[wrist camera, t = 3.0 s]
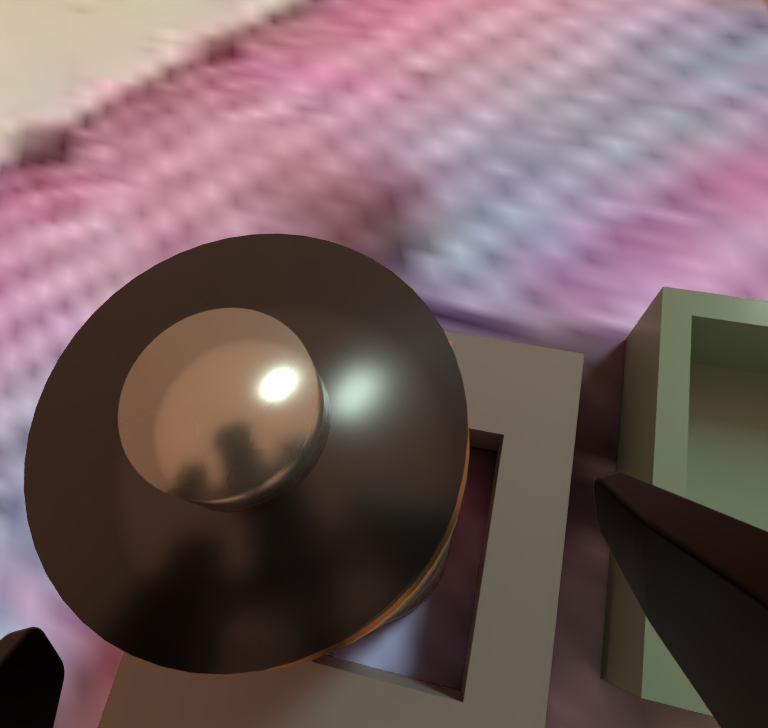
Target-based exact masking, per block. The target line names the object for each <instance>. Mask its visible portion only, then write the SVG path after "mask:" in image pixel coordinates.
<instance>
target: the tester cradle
mask: <svg viewBox="0 0 768 728" xmlns="http://www.w3.org/2000/svg"><path fill="white" fill-rule="evenodd" d="M444 332H445V335H446V337H447V339H448V341H449V343H450V345H451V347H452V349H453V351H454V354H455V357H456V360H457V363H458V366H459V369H460V372H461V376H462V379H463V385H464V391H465V396H466V402H467V415H468V423H469V446H473V447H478V448H483V449H488V450H493V451H498V452H497V459H496V465H495V472H494V478H493V485H492V491H491V497H490V504H489V510H488V517H487V523H486V530H485V536H484V543H483V549H482V556H481V562H480V569H479V575H478V581H477V588H476V594H475V601H474V607H473V614H472V620H471V627H470V633H469V640H468V646H467V653H466V659H465V665H464V672H463V678H462V685H461V691H458V690H454V689H451V688H447V687H443V686H440V685H436V684H432V683H428V682H425V681H421V680H417V679H413V678H410V677H406V676H402V675H398V674H395V673H391V672H387V671H383V670H380V669H376V668H372V667H368V666H365V665H361V664H357V663H353V662H350V661H346V660H342V659H339V658H335V657H331V656H327V655H323V656H321V657H318V658H316V659H314V660H311V661H308V662H304V663H300V664H296V665H292V666H289V667H285V668H281V669H273V670H264V671H255V672H245V673H236V674H227V675H226V674H202V673H190V672H185V671H180V670H175V669H170V668H165V667H161V666H158V665H156V664H153V663H150V662H148V661H145V660H142V659H140V658H137V657H134V656H132V655H130V654H128V653H127V652H124V655H123V658H122V661H121V664H120V666H119V669H118V672H117V675H116V678H115V681H114V683H113V686H112V689H111V692H110V695H109V698H108V701H107V703H106V706H105V709H104V712H103V715H102V718H101V720H100V723H99V726H98V728H545V722H546V712H547V702H548V693H549V683H550V674H551V664H552V655H553V645H554V636H555V626H556V617H557V607H558V598H559V588H560V579H561V569H562V560H563V550H564V541H565V531H566V522H567V512H568V503H569V493H570V484H571V474H572V465H573V455H574V445H575V436H576V426H577V417H578V407H579V398H580V388H581V379H582V369H583V360H584V354H582V353H576V352H570V351H563V350H557V349H551V348H545V347H539V346H533V345H527V344H520V343H514V342H508V341H502V340H496V339H490V338H484V337H477V336H471V335H465V334H459V333H453V332H447V331H444Z"/></svg>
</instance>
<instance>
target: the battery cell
mask: <svg viewBox="0 0 768 728" xmlns="http://www.w3.org/2000/svg"><path fill="white" fill-rule="evenodd" d="M469 453H470V449H469V423H468V415H467V402H466V396H465V391H464V385H463V379H462V376H461V372H460V369H459V366H458V363H457V360H456V357H455V354H454V351H453V349H452V347H451V345H450V343H449V341H448V339H447V337H446V335H445V332H444V330H443V328H442V327H441V325H440V324H439V322H438V321H437V319H436V318H435V316H434V315H433V313H432V312H431V310H430V309H429V307H428V306H427V305H426V304H425V303H424V302H423V301H422V300H421V298H420V297H419V296H418V295H417V294H416V293H415V292H414V291H413V289H412V288H411V287H409V286H408V285H407V284H406V283H405V282H404V281H402V280H401V279H400V278H399V277H398V276H397V275H395V274H394V273H393V272H392V271H390V270H389V269H387V268H385V267H384V266H382V265H381V264H379V263H378V262H376V261H375V260H373V259H371V258H369V257H367V256H365V255H363V254H361V253H359V252H357V251H355V250H353V249H350V248H348V247H345V246H342V245H339V244H336V243H333V242H330V241H326V240H321V239H316V238H311V237H306V236H299V235H287V234H254V235H247V236H240V237H233V238H227V239H223V240H219V241H215V242H211V243H207V244H203V245H201V246H198V247H195V248H192V249H190V250H187V251H184V252H182V253H179V254H177V255H175V256H173V257H171V258H169V259H167V260H165V261H163V262H161V263H159V264H157V265H155V266H153V267H152V268H150V269H149V270H147V271H145V272H144V273H142V274H141V275H139V276H137V277H136V278H134V279H133V280H131V281H130V282H129V283H128V284H126V285H125V286H124V287H122V288H121V289H120V290H119V291H117V292H116V293H115V294H113V295H112V296H111V297H110V298H109V299H108V300H107V301H106V302H105V303H104V304H103V305H102V306H101V307H100V308H99V309H97V310H96V311H95V312H94V313H93V314H92V316H91V317H90V318H89V319H88V320H87V321H86V323H85V324H84V325H83V326H82V327H81V328H80V330H79V331H78V332H77V333H76V334H75V336H74V337H73V339H72V340H71V342H70V343H69V344H68V346H67V347H66V349H65V350H64V352H63V353H62V355H61V356H60V358H59V359H58V361H57V363H56V365H55V367H54V369H53V371H52V372H51V374H50V376H49V378H48V380H47V382H46V384H45V387H44V389H43V392H42V394H41V397H40V399H39V402H38V404H37V407H36V410H35V413H34V417H33V421H32V424H31V428H30V432H29V436H28V443H27V450H26V457H25V468H24V495H25V503H26V511H27V520H28V523H29V527H30V531H31V535H32V539H33V542H34V546H35V549H36V551H37V554H38V556H39V558H40V560H41V563H42V565H43V567H44V570H45V572H46V574H47V576H48V577H49V579H50V581H51V582H52V584H53V585H54V587H55V588H56V590H57V592H58V593H59V595H60V596H61V598H62V599H63V600H64V602H65V603H66V604H67V605H68V606H69V607H70V608H71V610H72V611H73V612H74V613H75V614H76V615H77V616H78V617H79V619H80V620H81V621H82V622H83V623H85V624H86V625H87V626H88V627H90V628H91V629H92V630H93V631H94V632H96V633H97V634H98V635H99V636H101V637H102V638H103V639H104V640H106V641H107V642H109V643H111V644H113V645H114V646H116V647H118V648H120V649H121V650H123V651H125V652H127V653H128V654H130V655H132V656H134V657H137V658H140V659H142V660H145V661H148V662H150V663H153V664H156V665H158V666H161V667H165V668H170V669H175V670H180V671H185V672H190V673H202V674H226V675H227V674H236V673H245V672H255V671H264V670H273V669H281V668H285V667H289V666H292V665H296V664H300V663H304V662H308V661H311V660H314V659H316V658H318V657H321V656H323V655H326V654H328V653H330V652H333V651H335V650H338V649H340V648H342V647H344V646H346V645H348V644H350V643H353V642H355V641H357V640H358V639H360V638H362V637H363V636H365V635H367V634H368V633H370V632H372V631H373V630H375V629H377V628H378V627H380V626H381V625H384V624H386V623H389V622H391V621H393V620H396V619H398V618H400V617H403V616H405V615H406V614H408V613H410V612H411V611H413V610H414V609H415V608H417V607H418V606H419V605H420V604H422V603H423V601H424V600H425V599H426V598H427V597H428V596H429V595H430V594H431V592H432V591H433V590H434V588H435V587H436V585H437V583H438V581H439V579H440V578H441V575H442V573H443V570H444V568H445V564H446V560H447V556H448V551H449V546H450V541H451V536H452V533H453V530H454V528H455V525H456V523H457V519H458V515H459V511H460V506H461V502H462V498H463V494H464V490H465V485H466V481H467V472H468V462H469Z"/></svg>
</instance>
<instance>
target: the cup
mask: <svg viewBox="0 0 768 728" xmlns="http://www.w3.org/2000/svg"><path fill="white" fill-rule="evenodd" d="M616 472H622V473H625V474H628V475H630V476H633V477H635V478H637V479H640V480H642V481H645V482H647V483H650V484H652V485H655V486H657V487H660V488H662V489H665V490H667V491H669V492H672V493H674V494H677V495H679V496H682V497H684V498H687V499H689V500H692V501H694V502H696V503H699V504H701V505H704V506H706V507H709V508H711V509H714V510H716V511H719V512H721V513H723V514H726V515H728V516H731V517H733V518H736V519H738V520H741V521H743V522H746V523H748V524H750V525H753V526H755V527H758V528H760V529H763V530H765V531H768V301H762V300H755V299H748V298H741V297H734V296H727V295H719V294H712V293H705V292H698V291H691V290H684V289H677V288H670V287H662V289H661V290H660V292H659V293H658V294H657V296H656V297H655V299H654V300H653V301H652V303H651V304H650V306H649V307H648V308H647V310H646V311H645V313H644V314H643V315H642V317H641V318H640V320H639V321H638V323H637V324H636V325H635V327H634V328H633V330H632V331H631V332H630V334H629V335H628V337H627V338H626V349H625V362H624V375H623V388H622V401H621V414H620V427H619V441H618V454H617V467H616ZM600 679H603V680H605V681H607V682H609V683H611V684H613V685H615V686H617V687H619V688H621V689H624V690H626V691H628V692H630V693H632V694H634V695H636V696H638V697H640V698H643V699H647V700H651V701H655V702H659V703H663V704H667V705H671V706H675V707H678V708H682V709H686V710H690V711H694V712H698V713H702V714H706V715H710V716H713V715H712V714H711V712H710V711H709V709H708V708H707V706H706V705H705V703H704V702H703V701H702V699H701V698H700V696H699V695H698V693H697V692H696V690H695V689H694V687H693V686H692V684H691V683H690V681H689V680H688V679H687V677H686V676H685V674H684V673H683V671H682V670H681V668H680V667H679V665H678V664H677V662H676V661H675V659H674V658H673V657H672V655H671V654H670V652H669V651H668V649H667V648H666V646H665V645H664V643H663V642H662V640H661V639H660V637H659V636H658V634H657V633H656V631H655V630H654V628H653V627H652V625H651V624H650V622H649V621H648V619H647V617H646V615H645V614H644V612H643V610H642V608H641V607H640V605H639V603H638V601H637V599H636V597H635V595H634V594H633V592H632V590H631V588H630V586H629V584H628V582H627V580H626V579H625V577H624V575H623V573H622V571H621V569H620V567H619V565H618V564H617V562H616V560H615V558H614V556H613V554H612V552H611V550H610V558H609V571H608V584H607V597H606V610H605V624H604V637H603V650H602V663H601V676H600Z"/></svg>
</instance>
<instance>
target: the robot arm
mask: <svg viewBox="0 0 768 728" xmlns="http://www.w3.org/2000/svg"><path fill="white" fill-rule="evenodd" d="M593 490H594V499H595V508H596V517H597V522H598V526H599V529H600V531H601V533H602V535H603V537H604V539H605V541H606V543H607V545H608V547H609V549H610V550H611V552H612V554H613V556H614V558H615V560H616V562H617V564H618V565H619V567H620V569H621V571H622V573H623V575H624V577H625V579H626V580H627V582H628V584H629V586H630V588H631V590H632V592H633V594H634V595H635V597H636V599H637V601H638V603H639V605H640V607H641V608H642V610H643V612H644V614H645V615H646V617H647V619H648V621H649V622H650V624H651V625H652V627H653V628H654V630H655V631H656V633H657V634H658V636H659V637H660V639H661V640H662V642H663V643H664V645H665V646H666V648H667V649H668V651H669V652H670V654H671V655H672V657H673V658H674V659H675V661H676V662H677V664H678V665H679V667H680V668H681V670H682V671H683V673H684V674H685V676H686V677H687V679H688V680H689V681H690V683H691V684H692V686H693V687H694V689H695V690H696V692H697V693H698V695H699V696H700V698H701V699H702V701H703V702H704V703H705V705H706V706H707V708H708V709H709V711H710V712H711V714H712V715H713V717H714V718H715V720H716V721H717V723H718V724H719V725H720V727H721V728H768V531H765V530H763V529H760V528H758V527H755V526H753V525H750V524H748V523H746V522H743V521H741V520H738V519H736V518H733V517H731V516H728V515H726V514H723V513H721V512H719V511H716V510H714V509H711V508H709V507H706V506H704V505H701V504H699V503H696V502H694V501H692V500H689V499H687V498H684V497H682V496H679V495H677V494H674V493H672V492H669V491H667V490H665V489H662V488H660V487H657V486H655V485H652V484H650V483H647V482H645V481H642V480H640V479H637V478H635V477H633V476H630V475H628V474H625V473H622V472H613V473H609V474H605V475H602V476H598V477H596V478H595V480H594V483H593ZM63 681H64V666H63V662H62V660H61V659H60V657H59V655H58V654H57V652H56V651H55V649H54V648H53V646H52V644H51V643H50V641H49V640H48V638H47V637H46V635H45V633H44V632H43V631H42V630H41V629H39V628H38V627H30V628H26V629H23V630H19V631H15V632H12V633H10V634H8V635H6V636H5V637H3V638H2V639H1V640H0V728H53V726H54V721H55V717H56V712H57V708H58V703H59V699H60V694H61V690H62V685H63Z"/></svg>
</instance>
